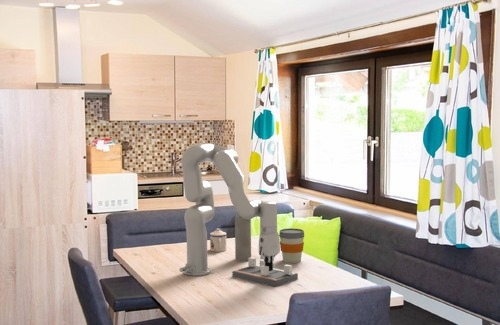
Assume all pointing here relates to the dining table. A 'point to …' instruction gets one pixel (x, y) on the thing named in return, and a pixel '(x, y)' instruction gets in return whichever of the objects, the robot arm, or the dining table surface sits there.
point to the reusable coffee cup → (291, 244)
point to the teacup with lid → (218, 241)
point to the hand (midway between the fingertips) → (269, 270)
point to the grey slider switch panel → (273, 279)
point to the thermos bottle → (242, 238)
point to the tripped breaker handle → (264, 270)
